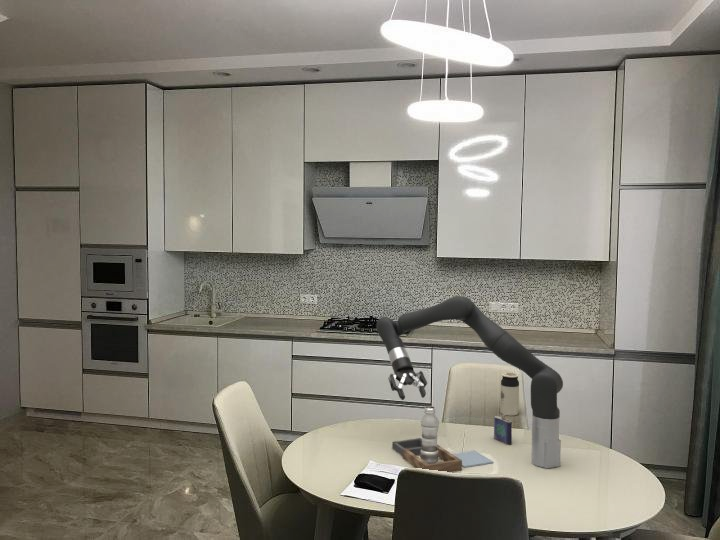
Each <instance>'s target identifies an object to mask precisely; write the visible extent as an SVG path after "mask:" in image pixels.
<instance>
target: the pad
mask: <svg viewBox="0 0 720 540" xmlns="http://www.w3.org/2000/svg"><path fill="white" fill-rule="evenodd" d="M452 454H453V455H454V456H456V457H457V458H459V459H461V460H462V468H464V469H466V468H467V469H468V468H472V467H479V466H485V465H490V464H494V461H493V460H491V459H490V458H488V457H487V456H485V455H484V454H482V453H480V452H478V451H476V450H469V451H463V452H456V453H452Z"/></svg>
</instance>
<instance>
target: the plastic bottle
mask: <svg viewBox="0 0 720 540" xmlns="http://www.w3.org/2000/svg"><path fill="white" fill-rule="evenodd" d="M423 412H424V414H423V415H422V417H421V420H420V428H421V439H422V445H421V451H420V455H419V458H420V459H422V460H423V461H425V462H426V463H427V464H431V463H437V462H438V460H439V458H438V457H439V455H438V450H437V445H438V433H439V427H440V426H439V425H440V421H439V419H438V417H437V416H436V407H435V406H431V405H428V406H424V411H423Z"/></svg>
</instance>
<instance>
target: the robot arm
mask: <svg viewBox="0 0 720 540" xmlns="http://www.w3.org/2000/svg"><path fill="white" fill-rule="evenodd" d="M450 320H451V321H452V320H455V321H461V322H463V323H464V324H466V325H467V326H468V327H469V328H471V329H472V330H473V331H474V332H475V333H476V334H477V336H478V337H479V338H480V341H482V343H483V344H484V345H485V346H486V347H487V349H488V350H490V351H491V352H492V353H493V354H494V355H495V356H497V358H498V359H500V360H501V361H503V362H504V363H506V364H509V365H510V366H513V367H515V369H516V368H517V369H518V370H520V371H522V372H523V373H525V374H526V375H527V376H528V377H529V378H530V379H531V382H530V406H531V407H530V408H531V410H532V413H531V414H532V418H531V419H532V420H531V422H532V424H531V425H532V426H531V463H532V464H533V465H534V466H537V467H540V468H544V469H553V468H558V467H560V466H561V455H562V453H561V450H562V449H561V448H562V447H561V446H562V441H561V439H560V415H561V414H560V409H559V407H558V393H560V392H561V391H562V389H563V388H564V387H563V386H564V382H563V381H564V380H563V378H562V377H561V374H560V373H559V372H557V371H556V370H555V369H554V368H552V367H550V366H549V365H548V364H546V363H545V362H543V361H542V360H540V359H539V358H538V357H536V356H535V355H534V354H533V353H532V352H531V351H530V350H528V348H526V347H525V346H524V345H523V344H522V343H521V342H519V341H518V340H517V339H516V338H515V337H514V336H513V335H511V334H510V333H509V332H508V331H507V330H505V329H504V328H503V327H501V325H499V324H498V323H496V322H495V321H493V320H492V319H490V318H489V317H488V316H487V315H485V313H483V312H482V310H481V309H480V308H479V307H478V306H477V305H476V304H475V303H474V302H473V301H472V300H471V299H470V298H468V297H467V296H463V295H455V296H452V297H450V298H449V299H446V300H444V301H441V302H439V303H437V304H435V305H432V306H430V307H426V308H425V307H424V308H422V309H419V310H415V311H410V312H408V313H404V314H401V315H400V316H399V317H398V320H397V321H394V320H393V319H392V318H390V317H389V316H381V317H380V318H379V319H378V320H377V321H376V331H377V333H378V335H379V337H380V339H381V340H382V342H383V343H384V346H385V349H386V351H387V354H388V358H389V362H390V364H391V367H392V370H393V372H394V374H393V373H390V374H389V376H388V381H389V382H388V383H389V385H390V389H391V391H393V392H394V391H396V392H397V394H398V398H399V399H400V400H402V401H404V400H405V398H406V395H405V393H404V390H403V388H402V387H403V386H411V385H413V386H414V387H416V388H418V391H419V394H420V397H421V398H424V399H425V396H426V395H427V392H426V390H425V388H426V386H427V384H428V382H427V379H426V377H425V374H424V372H423V371H422V370H419V372H415V371H414V366H413V364H412V363H413V362H412V361H411V359H410V356H409V353H408V351H407V348H406V347H405V344H404V342H403V340H402V338H401V337H400V336H402V335H404V334H406V333H407V332H411V331H414V330H418V329H421V328H424V327H426V326H430V325H431V324H434V323H436V322H440V321H450ZM396 381H398V384H397V383H396Z"/></svg>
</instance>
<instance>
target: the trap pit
mask: <svg viewBox="0 0 720 540" xmlns="http://www.w3.org/2000/svg"><path fill="white" fill-rule="evenodd" d="M391 445H392V446H391V448H392V449H393V450H394V451H395V452H396V453H398V454H399V455H401V456H402V457H403V449H408V450H409V451H411V452H412V453H413V454H415V455H416V456H420V451H421V445H422V437H419V438H418V437H417V438H410V439H405V440H404V439H403V440H396V441H392V444H391Z"/></svg>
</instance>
